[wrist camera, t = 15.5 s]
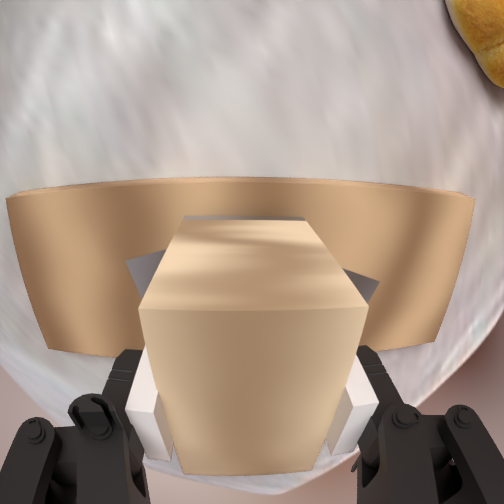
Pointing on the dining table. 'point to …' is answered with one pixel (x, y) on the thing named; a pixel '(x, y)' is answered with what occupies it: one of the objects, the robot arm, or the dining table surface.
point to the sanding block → (250, 342)
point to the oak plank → (232, 204)
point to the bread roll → (482, 33)
